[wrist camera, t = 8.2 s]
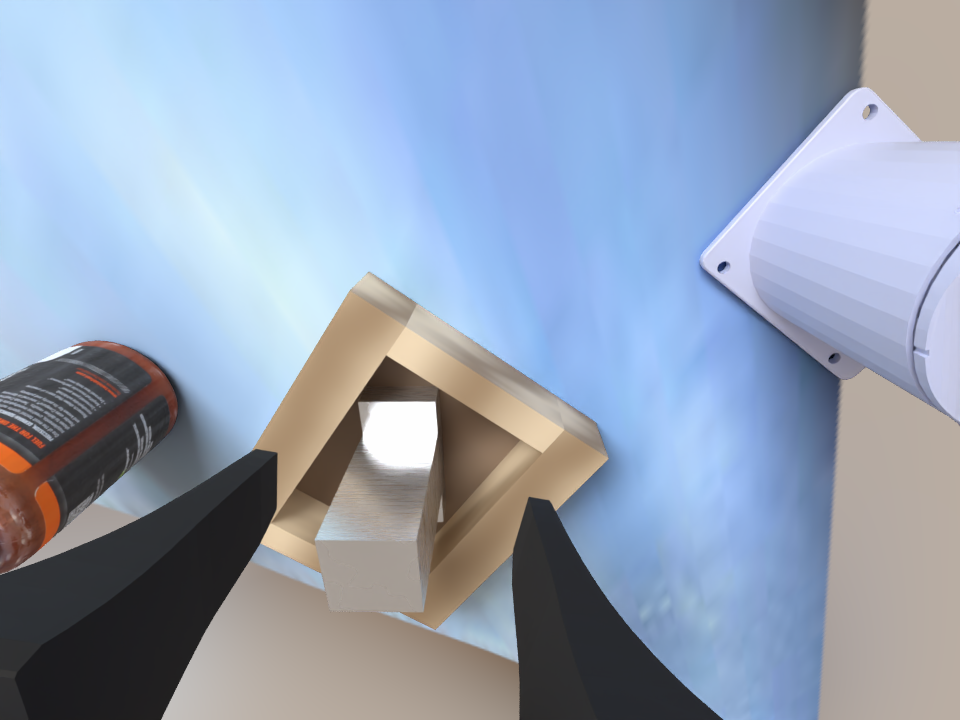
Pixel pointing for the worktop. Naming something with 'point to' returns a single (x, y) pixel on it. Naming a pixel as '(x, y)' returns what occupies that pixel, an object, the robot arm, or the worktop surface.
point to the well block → (465, 436)
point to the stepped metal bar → (386, 505)
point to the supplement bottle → (73, 437)
